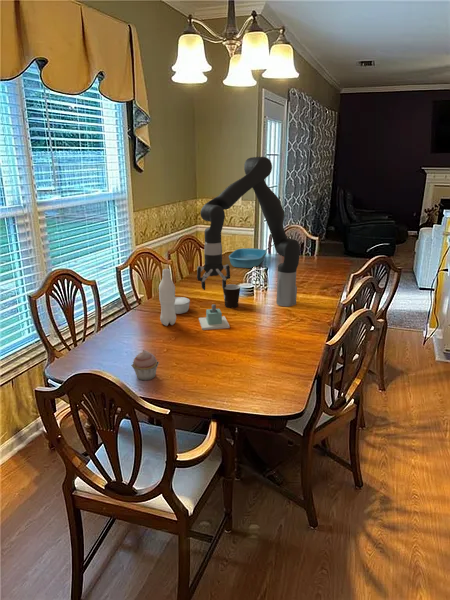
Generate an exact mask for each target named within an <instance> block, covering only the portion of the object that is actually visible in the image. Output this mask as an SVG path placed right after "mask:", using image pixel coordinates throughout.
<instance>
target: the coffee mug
mask: <svg viewBox="0 0 450 600" xmlns="http://www.w3.org/2000/svg"><path fill="white" fill-rule="evenodd" d="M222 291H223V299H224V306H225V308H227V309H237V308H238V307H239V300H240V291H241V286H240V285H238V284H233V283H230V284H226V287H225V289H223V288H222Z"/></svg>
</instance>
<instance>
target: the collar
mask: <svg viewBox="0 0 450 600" xmlns="http://www.w3.org/2000/svg"><path fill="white" fill-rule="evenodd" d="M205 310H206V311H205V314H206V315H205V317H206V320H207V323H208V325H212V324H222V315H223V313H222V310H221V309H220V308H216V313H212V308H210V309H209V308H208V309H207V308H206V309H205Z"/></svg>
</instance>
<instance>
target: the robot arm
mask: <svg viewBox="0 0 450 600" xmlns="http://www.w3.org/2000/svg"><path fill="white" fill-rule="evenodd" d="M272 164H273V163H272V162H271V160H270V159H269V158H268V157H267V156H252V157H249V158H247V159H246V160H245V161H244V164H243V165H244V166H243V168H244V174H245V175H244V176H243V177H241V178H239V179H237V180H236V181H234V182H233V183H231V184H229V185H228V186H227V187H226V188H225V189H224V190H223V191H222V192H220V194H218V196H217V195H216V197H214V198H212V199H211V200H209V201H207V202H206V203H205V204H204V205H203V206H202V207H201V209H200V218H201V219H202V220H204V221H205V222H209V223H210V225H209V227H206V228H205V230H204V248H203V249H204V250H203V251H204V252H203V253H204V257H203V259H204V265H203V266H200V265H198V266H197V268H196V269H197V270H196V279H197V281H199V282H201V289H202V290H203V291H205V290H206V280H207V279H208V278H209V277H214V276H215V277H218V276H220V278H221V285H222V286H221V288H222V290H223V289H225V287H226V285H227V280H228V279H229V280H230V279H231V269H230V264H228V263H227V264H224V265H223V245H222V231H223V227H224V224H225V223H224V222H225V218H226V217H225V215H226V214H225V210H229V209H231V208H232V207H233V206H234V204H236V203H237V202H238V200H240V198H242V197H243V196H244V195H245V194H247V192H249V191H250V190H251V189H252V190H253V192H254V193H255V196H256V199H257V201H258V203H259V206H260V209H261V211H262V214H263V217H264V219H265V222H266V224H267V227H268V229H269V232H270V234H271V239H272V242H273V247H274V249H275V252H276V253H277V254H278V255H279V256H281V257H283V262H281V263H279V264H278V265H277V277H276V278H277V279H276V280H277V281H276V303H275V304H277V306H281V307H293V306H296V305H297V295H298V294H297V293H298V292H297V291H298V286H297V268H298V267H299V262H300V254H301V246H300V243H299V241H298V240H297V239H294V238H290V237H289V236H287V233H286V232H285V228H284V220H285V211H284V208H283V206H282V203H281V200H280V199H279V197H278V196H277V195H276V193H275V192H274V191H273V190H272V189H271V188H270V187H269V185H267V182H266V181H265V179H266V178H268V177H269V176H270V175H271V173H272V171H273V165H272ZM223 269H224V270H225V273H226V274H225V275H224V274H223V272H222V271H223ZM203 270H204V271H205V272H204V273H203V275H202V274H201V273H202V272H203ZM201 275H202V276H201Z"/></svg>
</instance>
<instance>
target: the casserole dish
mask: <svg viewBox="0 0 450 600" xmlns="http://www.w3.org/2000/svg"><path fill="white" fill-rule="evenodd" d="M267 252H268V251H267V250H266V249H262V248H256V247H255V248H254V247H253V248H252V247H249V248H248V247H247V248H243V247H242V248H237V249H235V250H234V251H232V252H231V253H230V254H229V255H228V258H229V262H230V265H231V266H232V267H234V268H243V269H253V268H252V267H254V266H257V267H259V266H260V265H261V263H262V262H263V261H264V260H265V258H266V255H267Z"/></svg>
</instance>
